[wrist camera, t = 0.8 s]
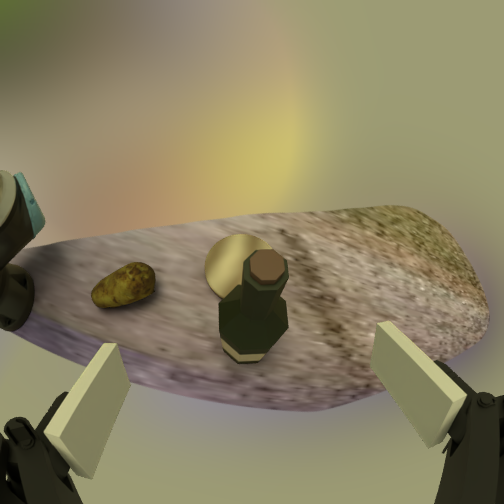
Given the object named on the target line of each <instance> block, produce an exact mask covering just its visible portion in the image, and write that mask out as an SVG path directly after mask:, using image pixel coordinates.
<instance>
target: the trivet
mask: <svg viewBox="0 0 504 504" xmlns="http://www.w3.org/2000/svg"><path fill="white" fill-rule="evenodd" d="M259 249H272V248H271V247H270V246H269V245H268V244H267V243H266V242H265V241H263V240H261V239H260V238H257V237H255V236H252V235H246V234H237V235H231V236H228V237H226V238H223V239H222V240H220V241H219V242H217V243H216V244H215V245H214V246H213V247H212V248H211V250H210V251H209V253H208V255H207V257H206V261H205V274H206V278H207V281H208V284H209V286H210V287H211V289H212V290H213V291H214V292H215V293H216V294H217V295H218V296H219V297H221V298H222V299H224V298H225V297H226V296H227V295H228V294H229V293H230V292H231V291H232V290H233V289H234V288H235V287H236V286H237V285H239V284H241V283H242V272H243V262H244V261H245V260H246V259H247V258H248V257H249V256H250V255H251V254H252V253H253V252H254V251H255V250H259Z"/></svg>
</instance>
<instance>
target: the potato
mask: <svg viewBox="0 0 504 504" xmlns="http://www.w3.org/2000/svg"><path fill="white" fill-rule="evenodd" d="M154 285H155V272H154V270H153V269H152V268H151V267H150V266H149V265H147V264H144V263H141V262H134V263H130V264H128V265H126V266H124V267H122V268H120V269H118V270H117V271H115V272H113V273H112V274H110V275H108V276H107V277H105V278H104V279H102V280H101V281H100V282H99V283H98V284H97V285H96V286H95V287H94V288H93V290H92V292H91V297H92V301H93V302H94V304H95V305H96V306H97V307H101V308H107V307H112V308H114V307H118V306H121V305H122V306H123V305H126V304H130V303H133V302H135V301H138V300H140V299H143V298H145V297H147V296H148V295H150V294H152V293H154V292H155V291H154Z"/></svg>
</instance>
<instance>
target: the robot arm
mask: <svg viewBox="0 0 504 504" xmlns="http://www.w3.org/2000/svg"><path fill="white" fill-rule="evenodd" d="M44 225H45V217H44V215H43V213H42V212H41V209H40V208H39V206H38V204H37V202H36V200H35V198H34V196H33V194H32V192H31V190H30V188H29V186H28V184H27V182H26V179H25V177H24V175H23V174H22V173H20V172H19V173H18V174H15V175H14V176H12V175H11V174H10V173H9V172H7V171H3V170H1V171H0V328H1V329H3V330H5V331H14V330H17V329H18V328H20V327H21V326H22V325H23V324H24V322H25V321H26V320H27V318H28V316H29V314H30V312H31V309H32V306H33V301H34V284H33V280H32V278H31V276H30V274H29V273H28V272H27V271H25V270H24V269H23V268H22V267H20V266H18V265H14V264H10V263H9V262H10V261H11V260H12V259H13V258H14V257H15V256H16V255H17V254H18V253H19V252H20V251H21V250H22V249H23V248H24V247H25V246H26V245H27V244H28V243H29V242H30V241H31V240H32V239H34V238H35V237H36V235H37V234H38V233H39V232H40V231H41V229H42V228H43V227H44ZM370 367H371V368H372V370H373V371H374V373H375V374H376V375H377V377H378V378H379V379H380V381H381V382H382V384H383V385H384V386H385V388H386V389H387V390H388V392H389V393H390V395H391V396H392V397H393V399H394V400H395V402H396V403H397V404H398V406H399V407H400V408H401V410H402V411H403V413H404V414H405V416H406V417H407V418H408V420H409V421H410V423H411V424H412V425H413V427H414V429H415V430H416V431H417V433H418V434H419V436H420V437H421V439H422V440H423V441H424V443H425V444H426V446H427V447H428V449H429V448H431V447H433V446H435V445H437V444H439V443H441V442H442V441H443V439H444V438H445V436H446V434H447V433H449V435H450V436H451V438H450V440H449V441H448V443H447V445H446V446H445V448H444V449H443V452H442V453H445V451H446V449H447V448H448V449H447V454H446V459H445V464H444V469H443V473H442V477H441V481H440V485H439V489H438V493H437V496H436V499H435V503H434V504H504V395H502V396H498V397H494V396H493V395H492V394H490V393H486V392H479V393H476V392H475V391H474V390H472V388H471V387H469V386H468V385H467V384H466V383H465V382H464V381H463V380H462V379H461V378H460V377H458V375H457V374H456V373H455V372H453V371H452V370H451V369H450V368H449V367H448V366H447V365H446V364H444V363H442V362H440V361H438V360H436V361H432V360H431V359H430V358H429V357H428V356H427V355H426V354H425V353H424V352H422V351H421V350H420V349H419V348H418V347H417V346H416V345H415V344H414V343H413V342H412V341H411V340H410V339H409V338H407V337H406V336H405V335H404V334H403V333H402V332H401V331H400V330H399V329H398V328H397V327H395V326H394V325H393V324H392V323H391V322H390V321H386V322H381V323H377V326H376V333H375V339H374V346H373V351H372V357H371V362H370ZM130 386H131V385H130V382H129V379H128V376H127V373H126V370H125V368H124V365H123V361H122V358H121V355H120V352H119V349H118V345H117V343H104V344H103V345H102V347H101V348H100V349H99V351H98V352H97V353H96V355H95V356H94V358H93V359H92V360H91V362H90V363H89V364H88V366H87V367H86V369H85V371H84V372H83V373H82V374H81V376H80V377H79V379H78V380H77V382H76V383H75V384H74V386H73V387H72V389H71V390H70V392H64V393H62V394H61V395H60V396H58V397H57V398H56V400H55V401H54V402H53V404H52V406H51V407H50V408H49V410H48V412H47V413H46V414H45V416H44V417H43V419H42V420H41V422H40V423H39V425H38V426H37V428H36V429H35V430H34V428H33V427H32V426H31V424H30V422H29V421H28V420H27V419H26V418H23V417H15V418H13V419H10V420H9V421H8V422H7V423H6V425H5V427H4V432H5V434H6V435H7V436H8V438H9V439H5V438H4V437H3V436H2V434H1V433H0V504H83V503H82V501H81V498H80V496H79V494H78V492H77V490H76V488H75V485H74V483H73V481H72V479H71V477H70V475H69V474H68V471H69V469H70V468H71V469H72V470H73V471H74V472H75V473H76V475H78V476H81V477H85V478H88V479H93V476H94V473H95V471H96V468H97V465H98V463H99V460H100V457H101V455H102V452H103V450H104V447H105V445H106V442H107V440H108V437H109V435H110V433H111V430H112V427H113V425H114V423H115V421H116V418H117V416H118V414H119V411H120V409H121V407H122V404H123V402H124V400H125V397H126V395H127V393H128V391H129V388H130ZM6 475H7V476H8V479H7V480H6Z"/></svg>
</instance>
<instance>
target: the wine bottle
mask: <svg viewBox="0 0 504 504" xmlns="http://www.w3.org/2000/svg"><path fill="white" fill-rule="evenodd" d="M288 278H289V274H288V265H287V260H286V259H284V258H283V257H282V256H281V255H280V254H278V253H277V252H276V251H275V250H273V249H259V250H255V251H254V252H253V253H252V254H251V255H250V256H249V257H248V258H247V259H246V260H245V261H244V262H243V272H242V283H241V284H239V285H237V286H236V287H235V288H234V289H233V290H232V291H231V292H230V293H229V294H228V295H227V296H226V297H225V298H224V299H223V300H222V301H221V302H220V303H219V332H220V337H221V341H222V346H223V350H224V352H225V353H226V354H227V355H228V356H230V357H231V358H232V359H233V360H234V361H235V362H236V363H237V364H248V363H258V362H259V360H260V359H261V358H262V357H263V356H264V355H265V354H266V353H267V352H268V351H269V349H270V348H271V347H272V346H273V345H274V344H275V343H276V342H277V340H278V339H279V338H280V337H281V336H282V335H283V334H284V332H285V331H286V330H287V329H288V328H289V327H288V317H287V307H286V301H285V300H284V299H283V298H282V297H280V295H281V293H282V291H283V289H284V286H285V284H286V282H287V280H288Z"/></svg>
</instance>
